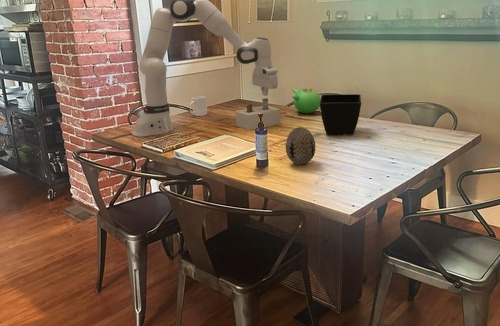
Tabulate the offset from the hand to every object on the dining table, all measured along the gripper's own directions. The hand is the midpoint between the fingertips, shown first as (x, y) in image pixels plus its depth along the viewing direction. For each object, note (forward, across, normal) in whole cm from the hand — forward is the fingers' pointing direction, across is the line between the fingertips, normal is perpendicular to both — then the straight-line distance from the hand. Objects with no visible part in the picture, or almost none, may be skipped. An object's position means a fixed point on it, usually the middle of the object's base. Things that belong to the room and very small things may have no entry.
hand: (265, 95), depth 245 cm
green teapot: (+16, -5, +31) cm, 35 cm away
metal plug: (+11, 0, 0) cm, 11 cm away
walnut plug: (+13, 0, -10) cm, 16 cm away
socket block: (+15, 0, -5) cm, 16 cm away
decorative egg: (+15, +67, -26) cm, 74 cm away
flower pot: (+16, +41, +17) cm, 47 cm away
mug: (+15, -46, -20) cm, 53 cm away
